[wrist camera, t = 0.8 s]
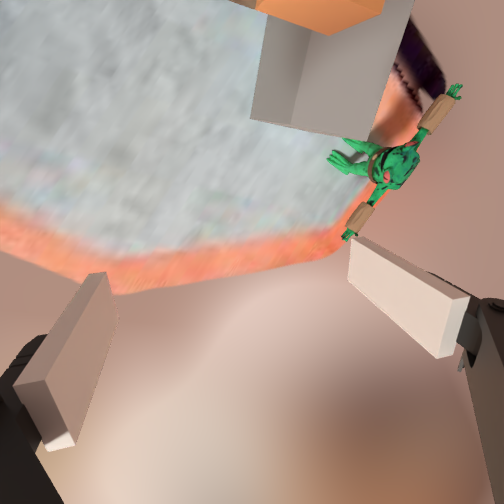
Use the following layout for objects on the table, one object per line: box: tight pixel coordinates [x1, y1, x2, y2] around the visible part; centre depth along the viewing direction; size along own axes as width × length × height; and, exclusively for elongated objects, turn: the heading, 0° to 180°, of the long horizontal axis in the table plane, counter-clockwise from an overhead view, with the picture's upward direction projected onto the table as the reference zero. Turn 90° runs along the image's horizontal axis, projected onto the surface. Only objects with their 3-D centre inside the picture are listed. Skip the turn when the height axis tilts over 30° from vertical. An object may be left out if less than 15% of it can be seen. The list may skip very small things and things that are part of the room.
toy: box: [327, 84, 463, 242], centre depth 44 cm, size 26×6×15 cm, turn 148°
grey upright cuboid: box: [250, 0, 415, 142], centre depth 35 cm, size 10×14×16 cm
